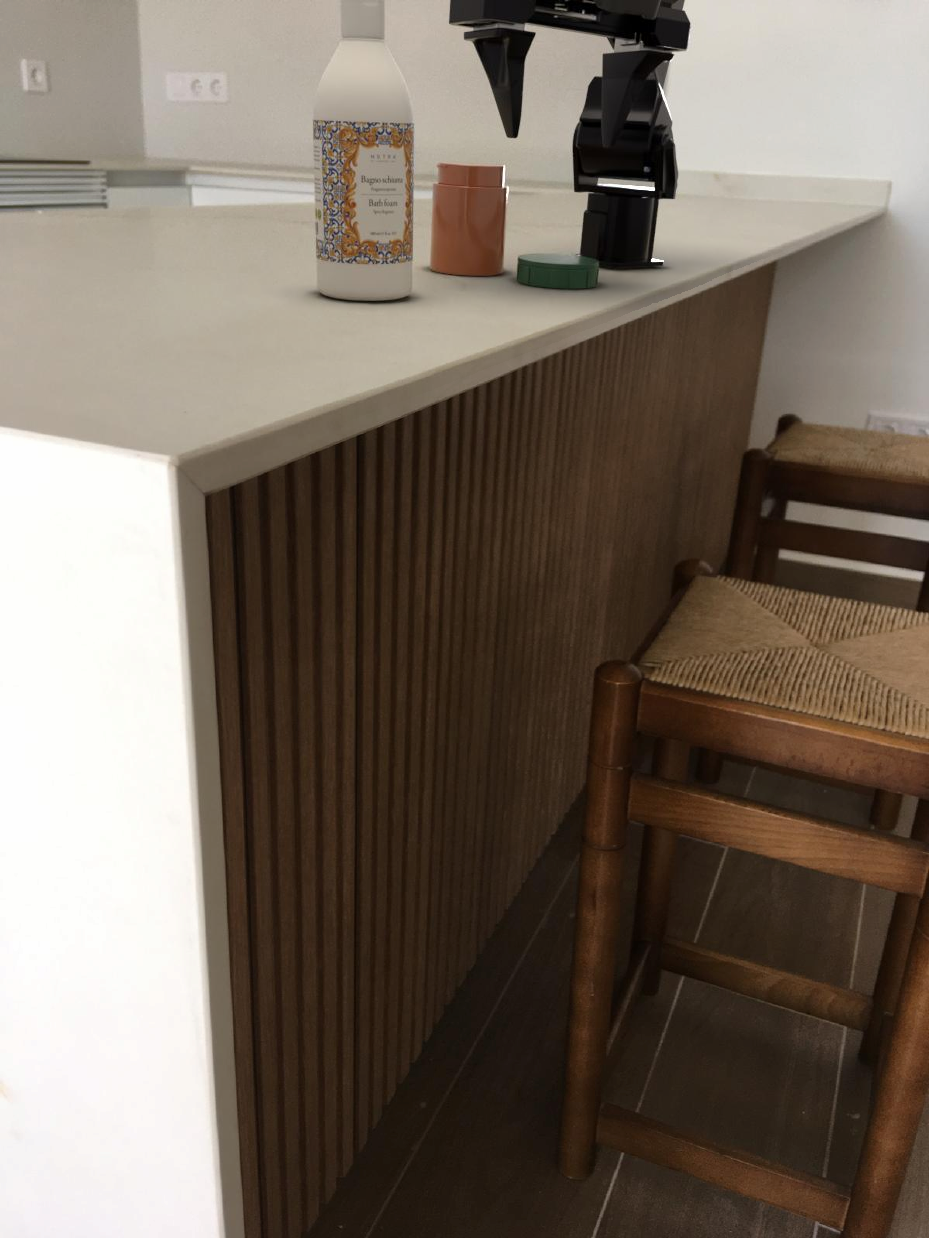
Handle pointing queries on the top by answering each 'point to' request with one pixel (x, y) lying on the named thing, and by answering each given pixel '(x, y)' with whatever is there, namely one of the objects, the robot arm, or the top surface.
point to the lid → (557, 271)
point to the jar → (469, 219)
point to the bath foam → (363, 164)
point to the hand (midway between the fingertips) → (561, 143)
